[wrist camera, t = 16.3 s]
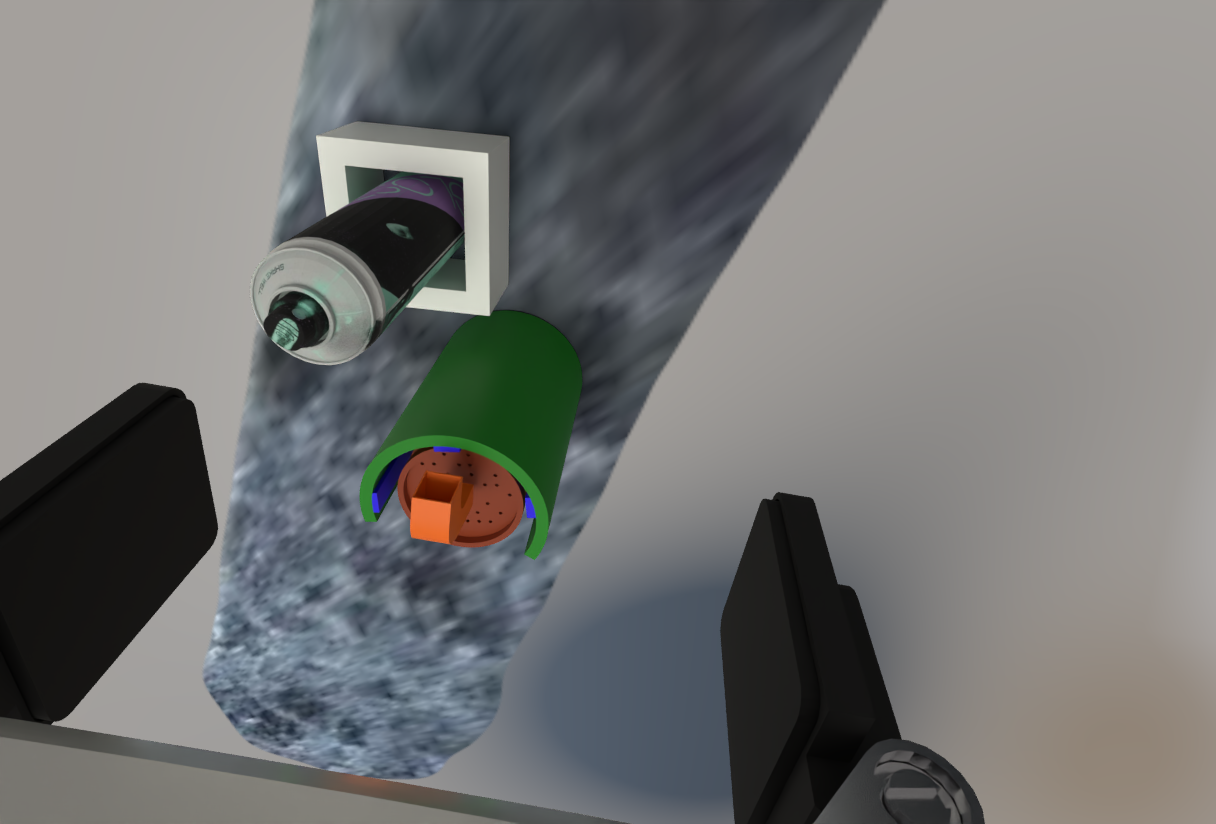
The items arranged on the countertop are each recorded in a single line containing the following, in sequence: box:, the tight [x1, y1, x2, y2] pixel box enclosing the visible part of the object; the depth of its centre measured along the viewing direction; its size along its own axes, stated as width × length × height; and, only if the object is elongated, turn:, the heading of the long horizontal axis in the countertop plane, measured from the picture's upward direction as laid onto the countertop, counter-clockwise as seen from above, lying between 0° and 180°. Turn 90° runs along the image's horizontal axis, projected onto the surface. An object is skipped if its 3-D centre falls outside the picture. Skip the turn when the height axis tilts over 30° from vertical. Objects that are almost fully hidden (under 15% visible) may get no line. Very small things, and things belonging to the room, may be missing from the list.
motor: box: [360, 310, 582, 560], centre depth 41 cm, size 10×9×20 cm
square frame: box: [316, 121, 510, 316], centre depth 42 cm, size 9×9×6 cm
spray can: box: [250, 171, 465, 365], centre depth 35 cm, size 6×6×20 cm
